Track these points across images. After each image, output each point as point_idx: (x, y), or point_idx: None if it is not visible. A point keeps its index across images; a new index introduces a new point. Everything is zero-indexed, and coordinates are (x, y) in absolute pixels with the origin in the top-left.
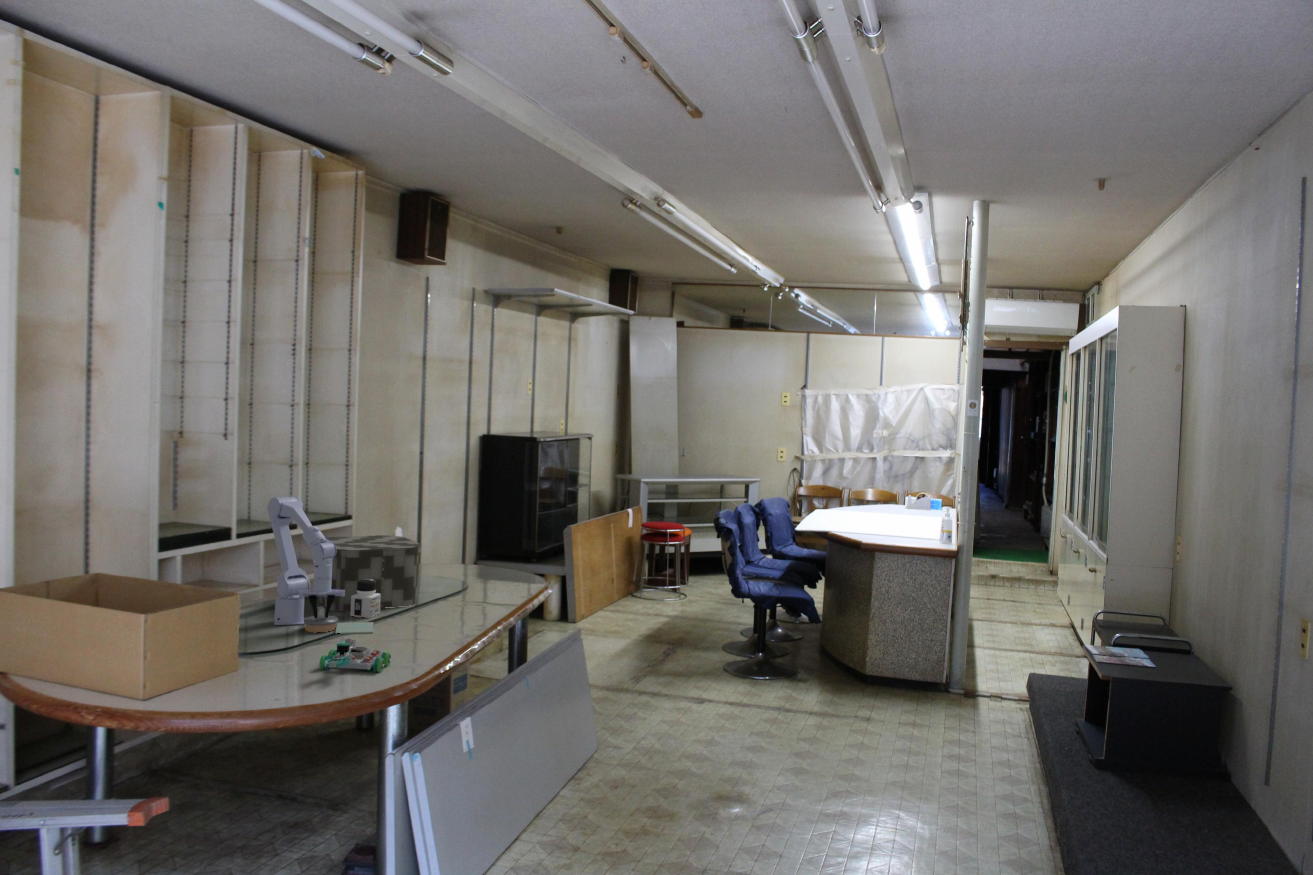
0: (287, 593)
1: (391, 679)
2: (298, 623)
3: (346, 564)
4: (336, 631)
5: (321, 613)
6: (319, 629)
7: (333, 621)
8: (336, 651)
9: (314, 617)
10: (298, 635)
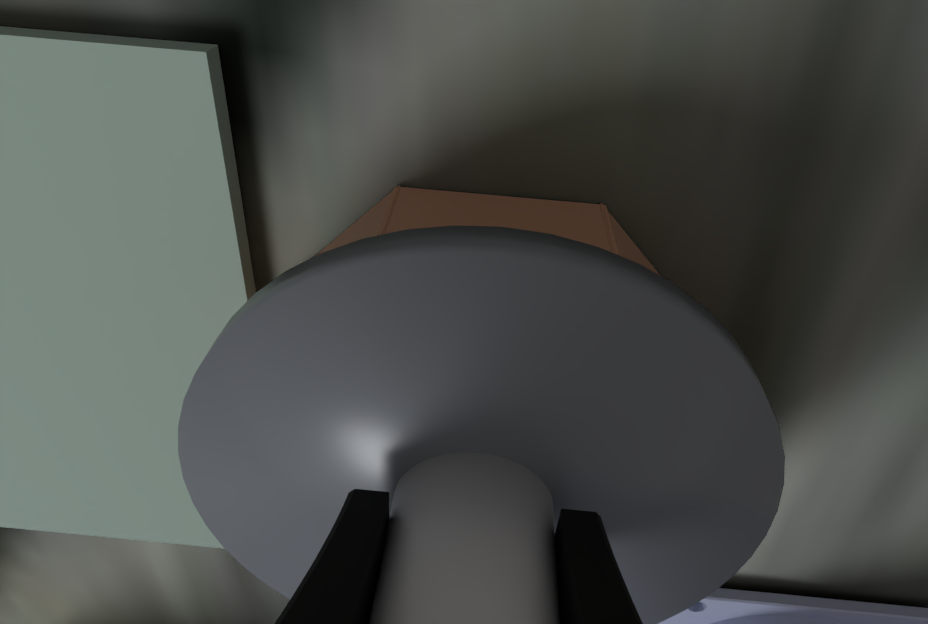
0: None
1: None
2: (726, 596)
3: None
4: (205, 142)
5: (463, 572)
6: (507, 222)
7: (224, 335)
8: None
9: (598, 521)
10: (914, 66)
